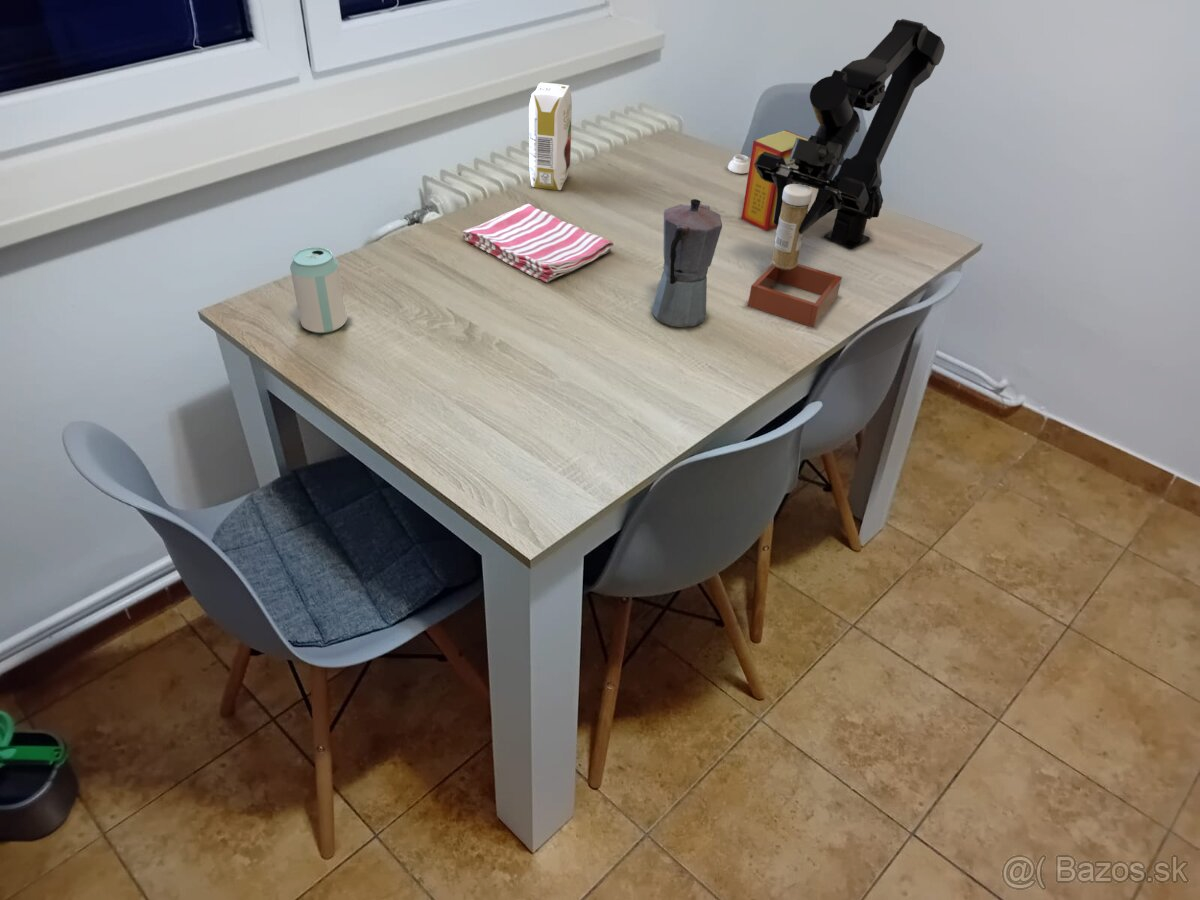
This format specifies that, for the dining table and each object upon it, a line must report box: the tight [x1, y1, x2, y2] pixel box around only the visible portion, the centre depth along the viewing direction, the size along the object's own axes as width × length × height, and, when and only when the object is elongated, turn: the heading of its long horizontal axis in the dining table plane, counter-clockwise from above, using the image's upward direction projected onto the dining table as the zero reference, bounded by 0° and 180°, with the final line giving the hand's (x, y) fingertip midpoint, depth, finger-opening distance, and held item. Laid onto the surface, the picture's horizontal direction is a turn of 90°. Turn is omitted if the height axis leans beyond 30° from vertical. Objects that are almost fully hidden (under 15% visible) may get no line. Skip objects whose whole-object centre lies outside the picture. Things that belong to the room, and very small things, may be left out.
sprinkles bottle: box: [770, 184, 813, 270], centre depth 149 cm, size 5×5×14 cm
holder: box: [747, 263, 843, 328], centre depth 155 cm, size 12×12×4 cm
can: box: [289, 246, 348, 334], centre depth 140 cm, size 7×7×12 cm
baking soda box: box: [740, 129, 809, 232], centre depth 175 cm, size 10×6×16 cm
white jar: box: [727, 153, 750, 175], centre depth 197 cm, size 5×3×5 cm
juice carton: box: [528, 81, 573, 191], centre depth 182 cm, size 8×9×19 cm
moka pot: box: [651, 198, 723, 328], centre depth 144 cm, size 10×15×20 cm, turn 161°
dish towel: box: [461, 203, 615, 283], centre depth 166 cm, size 17×23×4 cm
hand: (787, 228), depth 148 cm, fingers closed on sprinkles bottle, 4 cm apart
